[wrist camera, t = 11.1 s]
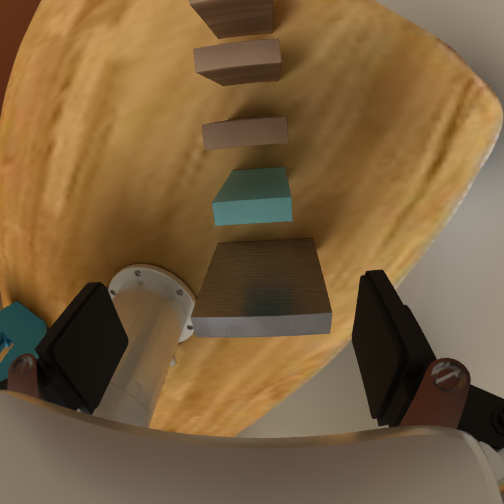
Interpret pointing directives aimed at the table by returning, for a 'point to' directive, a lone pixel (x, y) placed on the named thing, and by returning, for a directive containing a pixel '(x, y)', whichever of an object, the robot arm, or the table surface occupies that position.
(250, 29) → the walnut tile
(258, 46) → the walnut tile
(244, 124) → the walnut tile
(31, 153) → the table surface
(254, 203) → the teal tile
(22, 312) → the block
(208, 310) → the bookend
